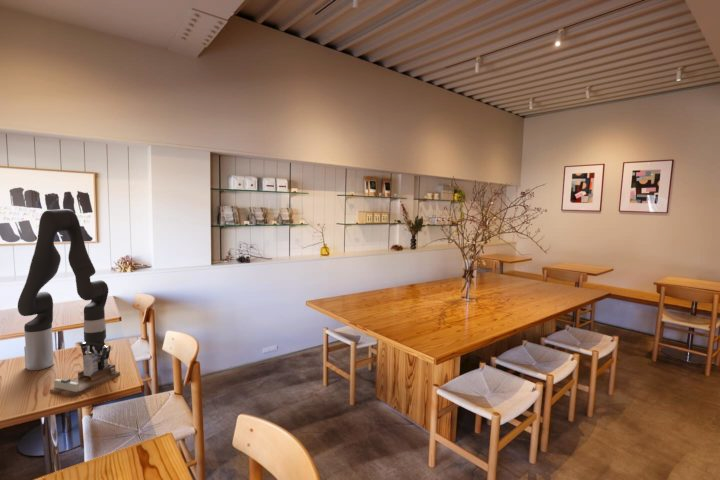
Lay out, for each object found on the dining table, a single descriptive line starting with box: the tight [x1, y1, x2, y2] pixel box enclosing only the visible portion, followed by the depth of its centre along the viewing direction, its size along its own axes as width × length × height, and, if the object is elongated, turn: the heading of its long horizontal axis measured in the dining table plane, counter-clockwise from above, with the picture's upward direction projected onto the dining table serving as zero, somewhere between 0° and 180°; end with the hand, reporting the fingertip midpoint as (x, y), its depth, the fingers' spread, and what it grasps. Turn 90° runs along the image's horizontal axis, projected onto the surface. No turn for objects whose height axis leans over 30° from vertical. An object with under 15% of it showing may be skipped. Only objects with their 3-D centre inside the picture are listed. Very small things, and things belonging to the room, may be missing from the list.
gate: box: [53, 377, 79, 392], centre depth 145 cm, size 11×2×4 cm, turn 75°
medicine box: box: [82, 352, 109, 376], centre depth 157 cm, size 8×4×9 cm, turn 168°
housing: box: [49, 363, 121, 398], centre depth 153 cm, size 12×20×4 cm, turn 165°
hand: (96, 368), depth 157 cm, fingers closed on medicine box, 4 cm apart
